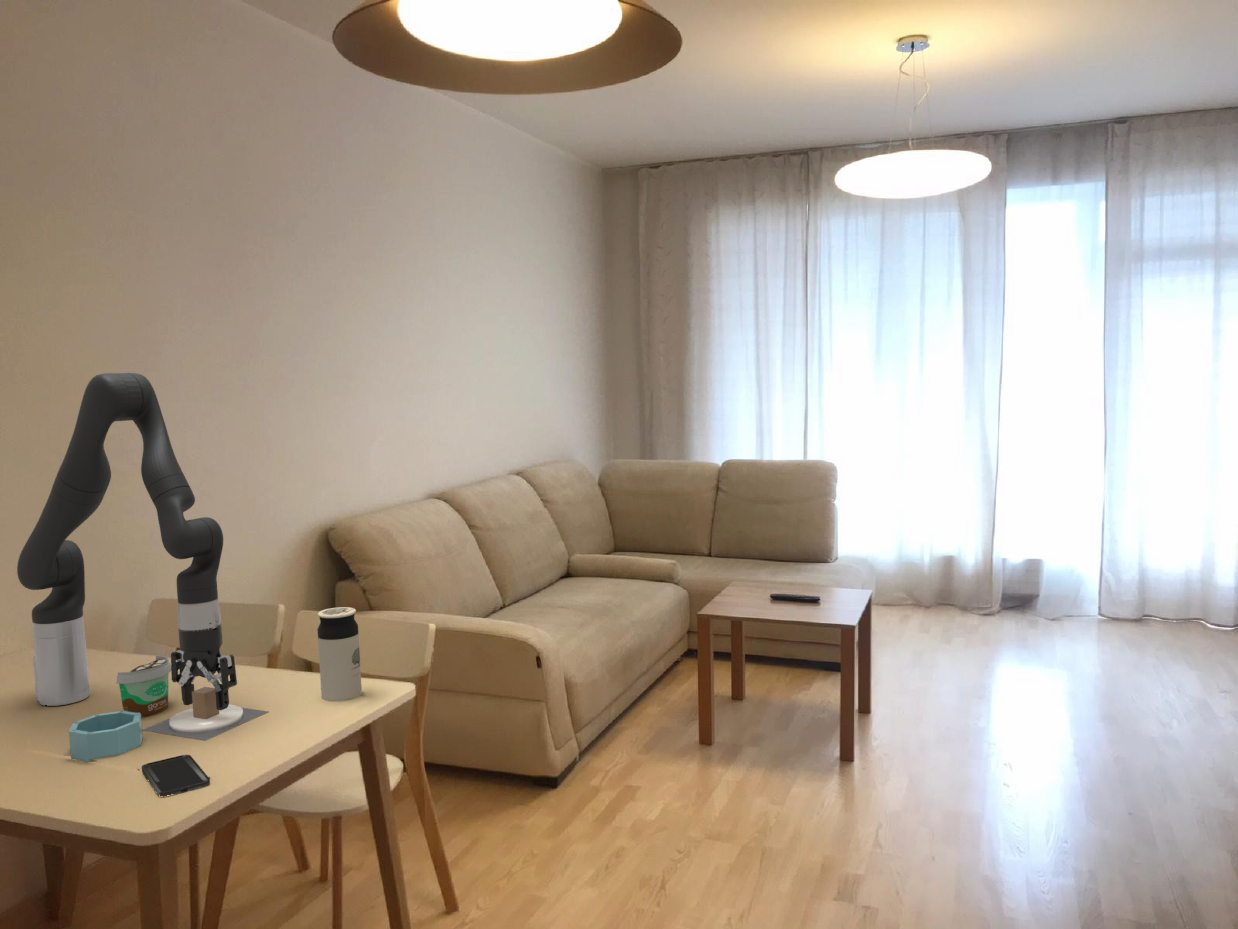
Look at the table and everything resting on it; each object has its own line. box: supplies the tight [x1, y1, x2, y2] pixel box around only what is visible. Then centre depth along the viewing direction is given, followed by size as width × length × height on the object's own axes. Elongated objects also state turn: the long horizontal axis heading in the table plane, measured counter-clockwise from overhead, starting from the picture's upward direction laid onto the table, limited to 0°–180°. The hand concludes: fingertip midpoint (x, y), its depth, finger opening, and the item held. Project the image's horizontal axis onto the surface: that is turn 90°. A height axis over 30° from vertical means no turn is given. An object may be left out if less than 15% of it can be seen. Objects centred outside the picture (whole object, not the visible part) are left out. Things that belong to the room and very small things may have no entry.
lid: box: [169, 686, 243, 733], centre depth 187 cm, size 13×13×6 cm
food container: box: [115, 655, 171, 718], centre depth 194 cm, size 12×6×10 cm, turn 168°
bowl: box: [68, 710, 144, 763], centre depth 175 cm, size 11×11×5 cm
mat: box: [142, 707, 270, 742], centre depth 187 cm, size 16×16×1 cm
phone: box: [141, 754, 211, 796], centre depth 162 cm, size 8×1×15 cm
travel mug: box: [317, 606, 363, 702], centre depth 200 cm, size 8×8×18 cm
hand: (205, 706), depth 187 cm, fingers open, 8 cm apart
